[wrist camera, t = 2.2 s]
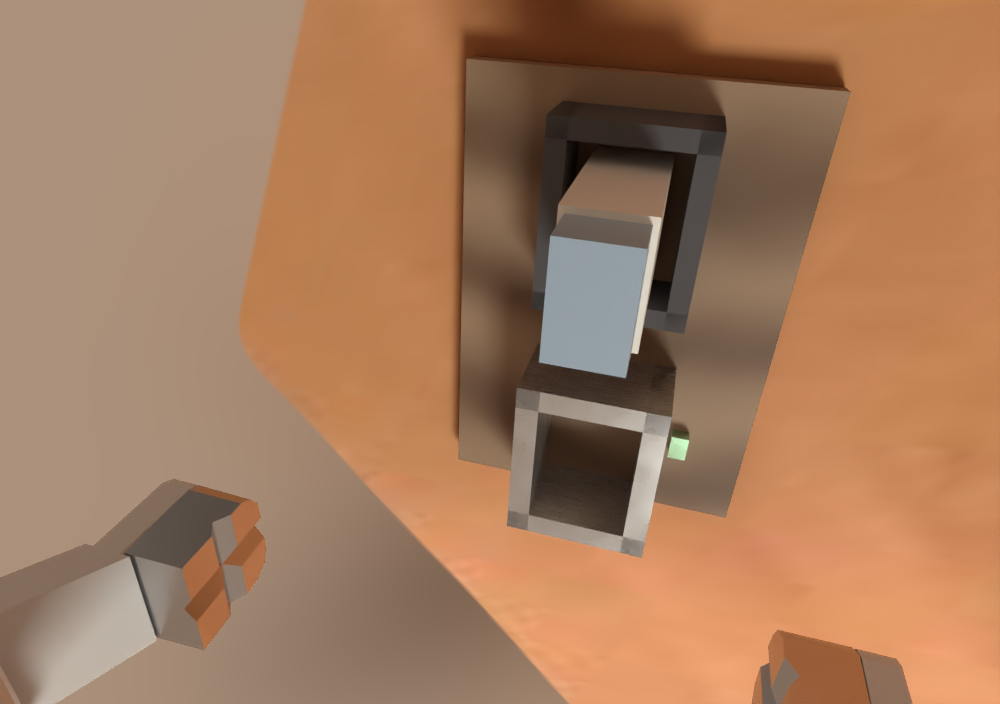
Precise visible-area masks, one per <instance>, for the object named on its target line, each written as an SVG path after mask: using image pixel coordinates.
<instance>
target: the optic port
mask: <svg viewBox="0 0 1000 704" xmlns="http://www.w3.org/2000/svg"><path fill="white" fill-rule="evenodd" d="M540 345H541V344H537V346H536V349H535V351H534V353H533V355H532V357H531V359H530V361H529V363H528V365H527V367H526V370H525V372H524V374H523V376H522V378H521V380H520V382H519V384H518V386H517V393H516V407H515V421H514V435H513V449H512V463H511V477H510V491H509V505H508V519H507V526H510V527H515V528H519V529H523V530H527V531H531V532H536V533H540V534H544V535H548V536H553V537H557V538H561V539H565V540H569V541H574V542H578V543H582V544H586V545H591V546H595V547H599V548H603V549H608V550H612V551H616V552H620V553H624V554H629V555H633V556H637V557H641V558H642V553H643V549H644V544H645V539H646V535H647V530H648V526H649V521H650V516H651V512H652V507H653V503H654V498H655V493H656V489H657V484H658V480H659V475H660V470H661V466H662V461H663V456H664V452H665V447H666V443H667V438H668V433H669V429H670V424H671V420H672V412H673V401H674V390H675V379H676V368H674V367H668V366H663V365H657V364H651V363H646V362H640V361H634V360H630V361H629V366H628V370H627V375H626V378H622V377H616V376H611V375H605V374H600V373H594V372H589V371H583V370H578V369H572V368H567V367H561V366H556V365H550V364H545V363H539V356H540ZM552 415H557V416H562V417H567V418H572V419H577V420H582V421H587V422H592V423H597V424H602V425H607V426H612V427H617V428H623V429H628V430H633V431H638V432H641V435H640V440H639V445H638V451H637V456H636V461H635V466H634V472H633V477H632V481H631V480H626V479H621V478H617V477H612V476H607V475H602V474H598V473H593V472H588V471H584V470H579V469H574V468H570V467H565V466H560V465H556V464H551V463H547V454H548V444H549V435H550V425H551V416H552ZM689 436H690V433H687V432H682V431H677V430H672V434H671V438H670V443H669V447H668V455H667V457H669V458H674V459H679V460H683V461H685V456H686V452H687V448H688V444H689Z"/></svg>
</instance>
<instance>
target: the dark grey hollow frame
mask: <svg viewBox="0 0 1000 704" xmlns="http://www.w3.org/2000/svg"><path fill="white" fill-rule="evenodd" d="M726 134H727V128H726V117H725V116H716V115H706V114H695V113H685V112H675V111H664V110H654V109H644V108H634V107H623V106H613V105H603V104H592V103H582V102H572V101H562V102H561V103H559V104H558V105H557V106H556V107H555V108H553V109H552V110H551V111H550V112H549V113H547V115H546V128H545V141H544V153H543V166H542V179H541V191H540V204H539V217H538V230H537V242H536V255H535V268H534V280H533V293H532V306H531V309H535V310H541V311H544V300H545V289H546V278H547V267H548V255H549V244H550V235H551V234H552V232H553V230H554V229H555V227H556V223H557V212H558V204H559V202H560V201H561V199H562V198H563V196H564V195H565V193H566V192H567V190H568V189H569V188H570V186H571V185H572V183H573V182H574V180H575V176H576V167H577V157H578V147H579V141H580V142H589V143H599V144H608V145H617V146H626V147H635V148H644V149H653V150H663V151H672V152H681V153H690V154H695V159H694V164H693V170H692V175H691V180H690V185H689V191H688V196H687V201H686V206H685V211H684V217H683V222H682V227H681V232H680V237H679V243H678V248H677V253H676V258H675V263H674V269H673V274H672V279H671V282H666V281H659V280H652V285H651V290H650V295H649V300H648V305H647V310H646V316H645V321H644V326H643V327H644V328H650V329H656V330H662V331H668V332H674V333H681V334H684V333H685V328H686V323H687V318H688V314H689V309H690V304H691V299H692V295H693V290H694V285H695V281H696V276H697V271H698V266H699V262H700V257H701V252H702V248H703V243H704V238H705V233H706V229H707V224H708V219H709V215H710V210H711V205H712V200H713V196H714V191H715V186H716V182H717V177H718V172H719V167H720V163H721V158H722V153H723V148H724V144H725V139H726Z"/></svg>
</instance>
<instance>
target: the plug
mask: <svg viewBox="0 0 1000 704" xmlns="http://www.w3.org/2000/svg"><path fill="white" fill-rule="evenodd" d="M674 158H675V154H668V153H659V152H650V151H641V150H631V149H622V148H613V147H604V146H597V148H596V149H595V150H594V152H593V153H592V155H591V156H590V158H589V159H588V161H587V162H586V164H585V165H584V167H583V168H582V170H581V171H580V173H579V174H578V176H577V177H576V179H575V180H574V182H573V183H572V185H571V186H570V188H569V189H568V190H567V192H566V193H565V195H564V196H563V198H562V199H561V201H560V202H559V204H558V212H557V223H556V227H555V229H554V230H553V232H552V234H551V235H550V244H549V255H548V267H547V278H546V289H545V300H544V311H543V323H542V334H541V345H540V356H539V363H545V364H550V365H556V366H561V367H567V368H572V369H578V370H583V371H589V372H594V373H600V374H605V375H611V376H616V377H622V378H626V375H627V370H628V366H629V361H630V357H631V353H634V354H638V351H639V346H640V341H641V336H642V331H643V326H644V321H645V316H646V310H647V305H648V300H649V295H650V290H651V285H652V280H653V275H654V270H655V265H656V259H657V254H658V248H659V242H660V237H661V231H662V225H663V220H664V214H665V209H666V203H667V197H668V192H669V186H670V180H671V175H672V169H673V163H674Z"/></svg>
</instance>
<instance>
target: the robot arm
mask: <svg viewBox="0 0 1000 704" xmlns="http://www.w3.org/2000/svg"><path fill="white" fill-rule="evenodd" d="M260 518H261V517H260V512H259V508H258V504H257V502H255V501H252V500H249V499H246V498H242V497H239V496H235V495H232V494H228V493H225V492H221V491H217V490H214V489H210V488H206V487H203V486H198V485H195V484H191V483H187V482H183V481H179V480H176V479H172V480H169V481H167V482H164V483H162V484H161V485H160V486H159V487H158V488H157V489H156V490H154V491H153V492H152V493H151V494H150V495H149V496H148V497H147V498H146V499H144V500H143V501H142V502H141V503H140V504H139V505H138V506H137V507H136V508H135V509H133V510H132V511H131V512H130V513H129V514H128V515H127V516H126V517H125V518H124V519H122V520H121V521H120V522H119V523H118V524H117V525H116V526H115V527H114V528H113V529H111V530H110V531H109V532H108V533H107V534H106V535H105V536H104V537H103V538H102V539H100V541H98V542H97V543H96V544H95V545H94V546H92V545H88V544H84V545H81V546H79V547H76V548H74V549H71V550H69V551H66V552H64V553H61V554H59V555H56V556H54V557H51V558H49V559H46V560H44V561H41V562H38V563H36V564H33V565H31V566H28V567H26V568H23V569H21V570H18V571H16V572H13V573H11V574H8V575H6V576H4V577H1V578H0V704H55V703H57V702H58V701H60V700H62V699H63V698H65V697H67V696H68V695H70V694H72V693H73V692H75V691H76V690H78V689H79V688H81V687H83V686H84V685H86V684H88V683H89V682H91V681H92V680H94V679H95V678H97V677H99V676H100V675H102V674H104V673H105V672H107V671H109V670H110V669H112V668H113V667H115V666H117V665H118V664H120V663H121V662H123V661H125V660H126V659H128V658H129V657H131V656H133V655H134V654H136V653H137V652H139V651H141V650H142V649H144V648H145V647H147V646H149V645H150V644H152V643H153V642H155V641H156V640H157V638H156V637H158V638H161V639H165V640H169V641H172V642H176V643H180V644H184V645H187V646H191V647H194V648H198V649H202V650H205V648H206V647H207V646H208V644H209V643H210V642H211V641H212V639H213V638H214V637H215V635H216V634H217V633H218V631H219V630H220V629H221V628H222V626H223V625H224V624H225V622H226V621H227V620H228V618H229V617H230V614H231V613H230V612H231V611H230V602H232V601H234V600H236V599H238V598H240V597H242V596H244V595H246V594H247V593H248V592H249V591H250V589H251V588H252V587H253V585H254V584H255V582H256V581H257V580H258V577H259V575H260V572H261V570H262V567H263V565H264V563H265V554H266V545H265V539H264V537H263V535H262V534H261V533H260V532H259V530H258V529H257V528H256V527H255V524H256V523H257V521H258V520H259V519H260ZM768 650H769V663H768V664H766V665H764V666H762V667H760V670H759V673H758V676H757V679H756V682H755V686H754V692H753V698H752V704H912V700H911V697H910V693H909V690H908V686H907V682H906V679H905V675H904V672H903V668H902V666H901V665H900V663H899V662H898V661H897V659H895V658H891V657H887V656H883V655H879V654H875V653H871V652H866V651H862V650H858V649H853V648H852V647H848V646H844V645H839V644H835V643H831V642H827V641H823V640H818V639H814V638H810V637H806V636H801V635H797V634H793V633H789V632H784V631H780V630H777V631H776V632H775V633H774V634H773V636H772V639H771V641H770V644H769V646H768Z"/></svg>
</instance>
